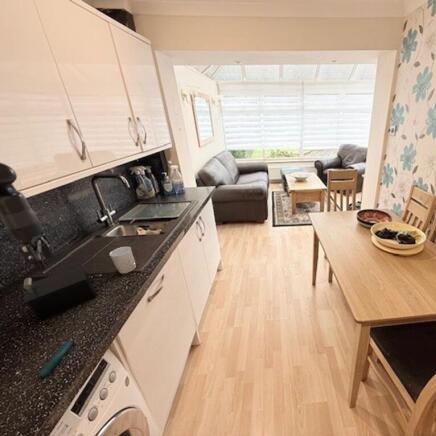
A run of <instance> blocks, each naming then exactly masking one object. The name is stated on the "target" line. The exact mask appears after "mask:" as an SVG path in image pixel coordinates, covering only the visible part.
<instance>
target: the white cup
mask: <svg viewBox="0 0 436 436" xmlns="http://www.w3.org/2000/svg"><path fill="white" fill-rule="evenodd" d="M109 257H110V259H111V261H112V262H113V264H114V266H115V268H116V270H117V271H118V273H119V274H128V273H130V272H132V271H134V270H135V269H136V268H137V263H136V260H135V257H134V254H133V251H132V248H131V246H120V247H117V248H115V249H113V250H112V251H110V252H109Z"/></svg>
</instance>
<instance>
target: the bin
mask: <svg viewBox="0 0 436 436" xmlns="http://www.w3.org/2000/svg"><path fill="white" fill-rule="evenodd" d="M83 269H84V273H85V276H86V280H87V281H84V282H82V283H79V284H77V285H74V286H71V287H69V288H66V289H64V290H61V291H59V292H56V293H53V294H51V295H48V296H46V297H43V298H41V299H38V300H36V301H33V302H30V303H28V305H29V307H30V308H31V309H32V311H33V312H34V314H35V315H36V316H37V318H38V319H39V321H40V322H43V321H45V320H47V319H49V318H51V317H55V316H57V315H59V314H61V313H63V312H65V311H68V310H70V309H73V308H75V307H77V306H79V305H82V304H84V303H86V302H89V301H91V300H93V299H96V294H95V291H94V287H93V284H92V281H91V279H90V277H89V276H88V273H87V272H86V270H85V268H84V267H83Z"/></svg>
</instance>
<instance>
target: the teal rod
mask: <svg viewBox="0 0 436 436" xmlns="http://www.w3.org/2000/svg"><path fill="white" fill-rule="evenodd" d="M72 347H73V342H72V341H66V342H64V343H63V344H62V345H61V346H60V348H59V349H58V350H57V351H56V353H54V355H53V356H52V357H51V358H50V360H49V361H48V362H47V363H46V364H45V365H44V367H43V368H42V369H41V370H40V372H39V377H41V378H46V377H47V376H49V375H51V373H52V372H53V370H54V369H55V368H56V367H57V365H58V364H59V363H60V362H61V360H62V359H63V358H64V357H65V355H66V354H67V353H68V351H69V350H70V349H71V348H72Z"/></svg>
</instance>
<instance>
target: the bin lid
mask: <svg viewBox="0 0 436 436" xmlns="http://www.w3.org/2000/svg"><path fill="white" fill-rule="evenodd" d="M83 268H84V266H83V264H81V265H78V266H75V267H73V268H70V269H67V270H64V271H61V272H58V273H55V274H53V275H49V276H47V277H44V278H41V279H39V280H36V281H34V282H33V279H32V277H26V278H25V279H23V289H24V298H23V304H24V305H29V303H30V302H33V301H36V300H38V299H41V298H43V297H46V296H48V295H51V294H53V293H56V292H59V291H61V290H64V289H66V288H69V287H71V286H74V285H77V284H79V283H82V282H84V281H87V280H86V276H85V273H84V270H85V268H84V269H83Z"/></svg>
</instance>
